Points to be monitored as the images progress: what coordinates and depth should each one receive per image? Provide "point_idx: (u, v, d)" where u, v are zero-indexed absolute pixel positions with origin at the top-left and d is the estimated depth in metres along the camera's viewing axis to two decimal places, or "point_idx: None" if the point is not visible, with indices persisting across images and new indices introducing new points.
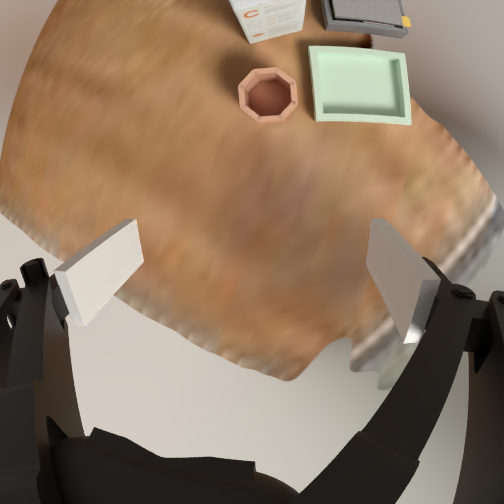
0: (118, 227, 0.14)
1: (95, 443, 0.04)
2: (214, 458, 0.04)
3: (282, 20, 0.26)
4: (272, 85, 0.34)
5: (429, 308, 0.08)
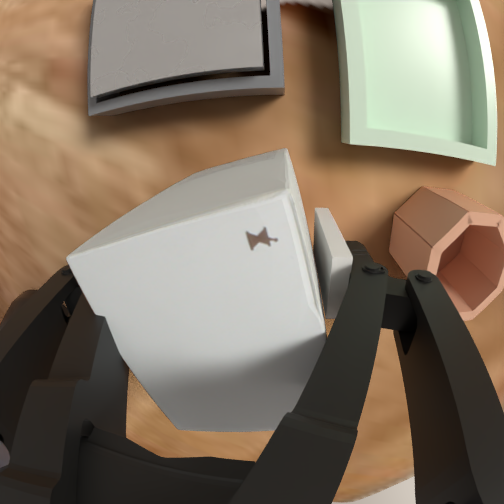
0: None
1: (95, 443, 0.04)
2: (214, 458, 0.04)
3: None
4: None
5: (346, 285, 0.10)
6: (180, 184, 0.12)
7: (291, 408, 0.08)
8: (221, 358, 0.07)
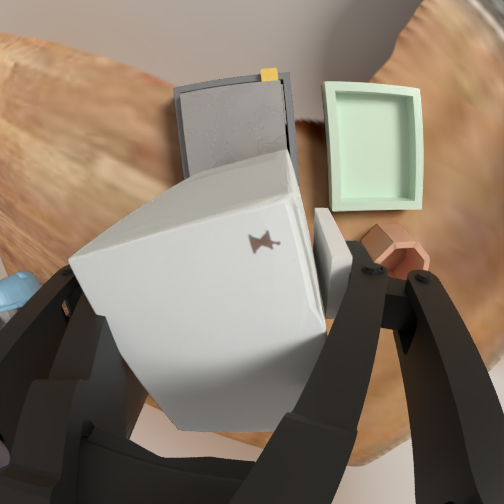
0: None
1: (95, 443, 0.04)
2: (214, 458, 0.04)
3: (306, 223, 0.12)
4: None
5: (345, 285, 0.10)
6: (181, 185, 0.13)
7: (291, 409, 0.08)
8: (223, 360, 0.07)
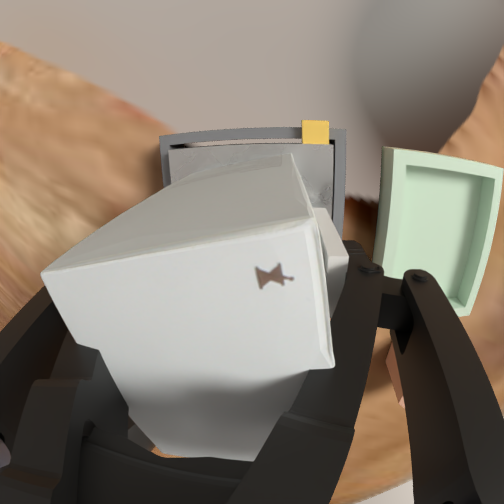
0: None
1: (95, 443, 0.04)
2: (214, 458, 0.04)
3: None
4: None
5: (342, 284, 0.10)
6: (175, 187, 0.11)
7: None
8: (215, 397, 0.06)
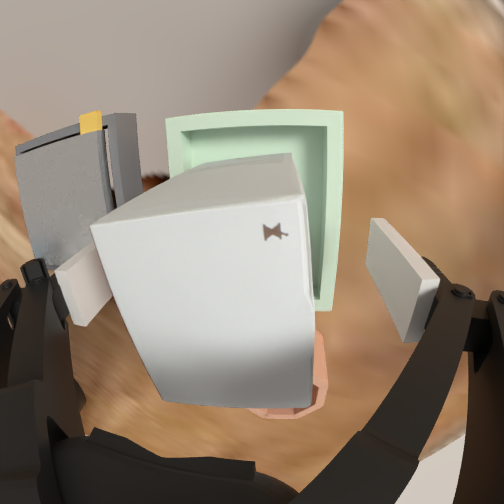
0: None
1: (95, 443, 0.04)
2: (214, 458, 0.04)
3: None
4: None
5: (428, 308, 0.08)
6: (192, 172, 0.13)
7: (273, 387, 0.09)
8: (221, 332, 0.08)
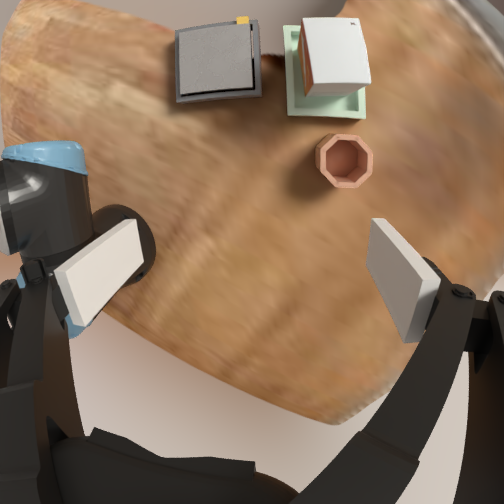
0: (117, 227, 0.14)
1: (95, 443, 0.04)
2: (214, 458, 0.04)
3: None
4: (325, 153, 0.39)
5: (429, 308, 0.08)
6: None
7: (357, 70, 0.23)
8: (341, 46, 0.22)
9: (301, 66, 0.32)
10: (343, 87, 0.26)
